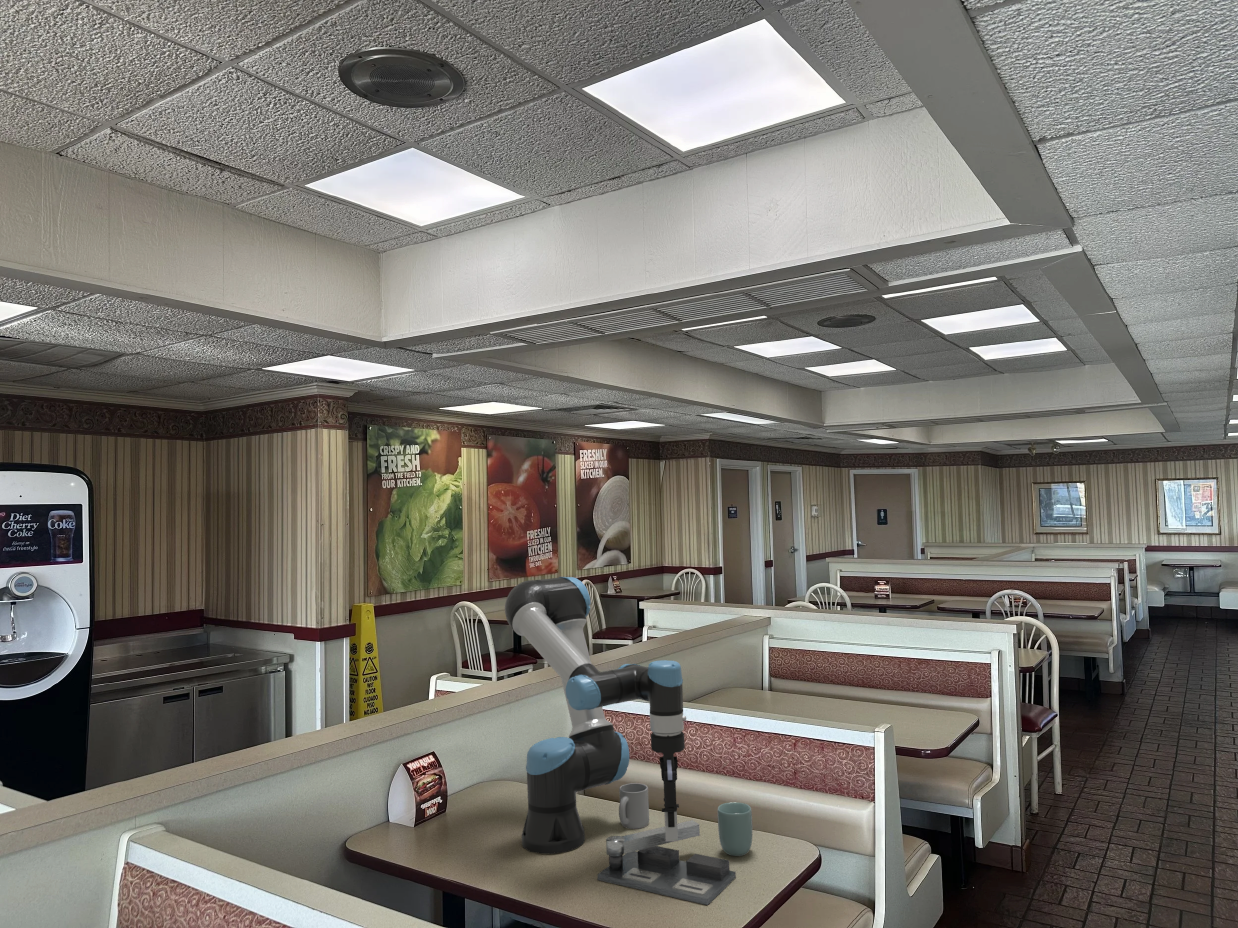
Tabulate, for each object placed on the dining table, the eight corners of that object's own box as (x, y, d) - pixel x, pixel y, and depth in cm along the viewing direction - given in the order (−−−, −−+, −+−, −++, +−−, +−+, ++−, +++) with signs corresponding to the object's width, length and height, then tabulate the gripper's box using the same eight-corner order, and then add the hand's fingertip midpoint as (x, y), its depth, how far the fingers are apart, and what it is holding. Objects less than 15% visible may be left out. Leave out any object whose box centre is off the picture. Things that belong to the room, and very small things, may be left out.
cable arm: (611, 857, 180) (610, 844, 180) (603, 850, 183) (603, 837, 184) (700, 835, 190) (700, 823, 190) (691, 830, 193) (691, 817, 193)
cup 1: (654, 821, 212) (653, 785, 212) (633, 835, 203) (631, 797, 204) (630, 816, 216) (629, 781, 216) (608, 829, 207) (607, 793, 208)
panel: (597, 879, 179) (596, 859, 180) (630, 855, 191) (629, 836, 192) (707, 905, 166) (706, 883, 166) (735, 877, 178) (734, 857, 178)
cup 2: (752, 860, 186) (750, 814, 187) (717, 858, 188) (715, 813, 188) (754, 846, 194) (752, 802, 194) (720, 844, 195) (718, 801, 196)
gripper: (685, 738, 181) (690, 850, 179) (682, 724, 193) (686, 828, 192) (651, 739, 181) (655, 851, 179) (650, 725, 194) (654, 829, 192)
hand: (671, 839), depth 185 cm, fingers closed
